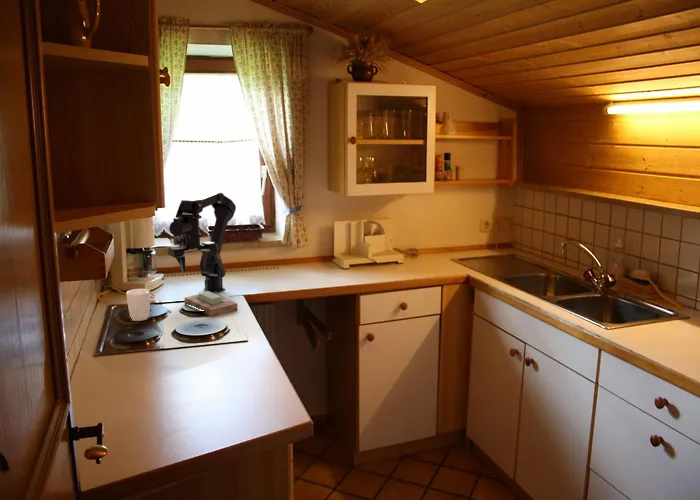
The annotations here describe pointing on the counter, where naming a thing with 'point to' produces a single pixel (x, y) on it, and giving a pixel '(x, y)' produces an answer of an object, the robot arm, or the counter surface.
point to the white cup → (138, 304)
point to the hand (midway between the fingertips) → (194, 270)
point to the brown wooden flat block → (212, 306)
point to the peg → (210, 298)
